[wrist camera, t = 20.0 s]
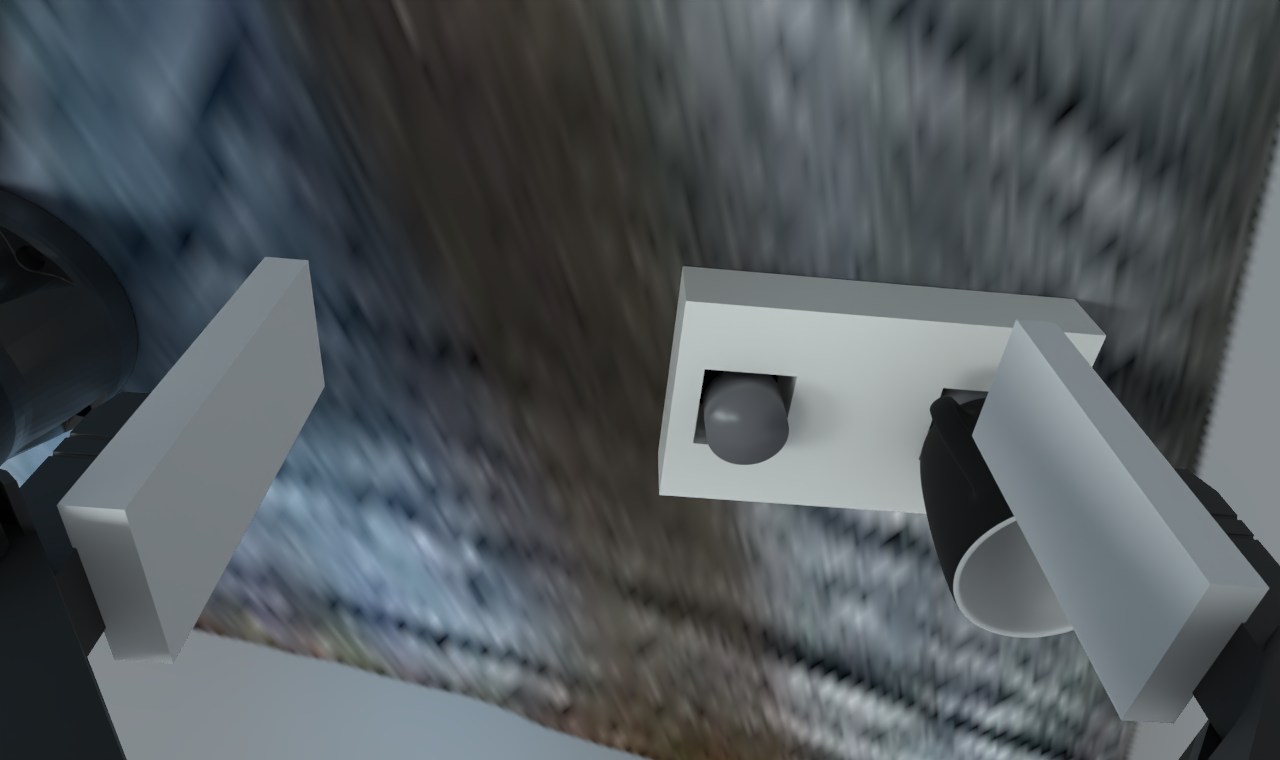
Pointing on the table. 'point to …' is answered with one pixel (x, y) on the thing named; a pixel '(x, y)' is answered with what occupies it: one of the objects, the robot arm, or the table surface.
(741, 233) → the table surface
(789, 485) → the white rectangular box
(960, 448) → the mug
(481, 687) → the table surface
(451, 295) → the table surface
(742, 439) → the dark grey rounded piece
